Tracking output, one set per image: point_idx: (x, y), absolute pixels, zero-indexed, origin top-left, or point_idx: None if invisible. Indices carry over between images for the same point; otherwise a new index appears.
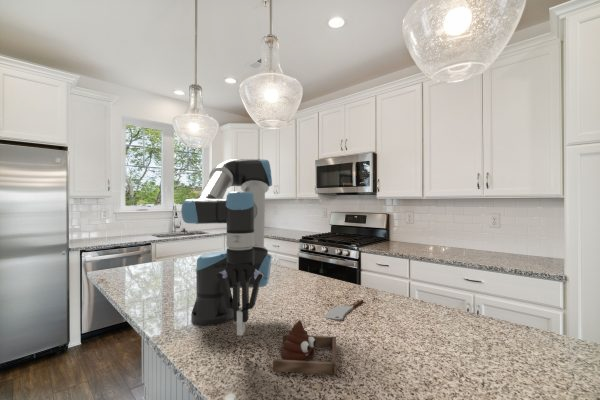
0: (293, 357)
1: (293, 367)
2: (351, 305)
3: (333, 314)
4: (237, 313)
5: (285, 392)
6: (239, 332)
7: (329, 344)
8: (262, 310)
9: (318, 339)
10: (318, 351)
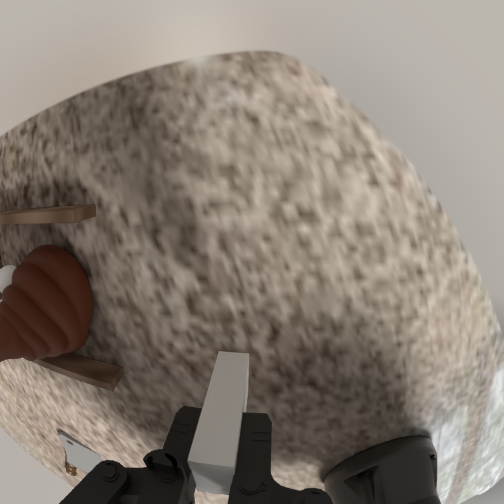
0: (39, 251)
1: (38, 209)
2: (72, 466)
3: (83, 454)
4: (229, 453)
5: (56, 111)
6: (232, 362)
7: None
8: None
9: None
10: None
